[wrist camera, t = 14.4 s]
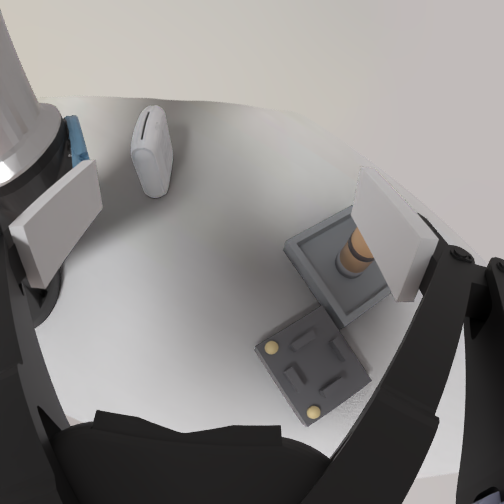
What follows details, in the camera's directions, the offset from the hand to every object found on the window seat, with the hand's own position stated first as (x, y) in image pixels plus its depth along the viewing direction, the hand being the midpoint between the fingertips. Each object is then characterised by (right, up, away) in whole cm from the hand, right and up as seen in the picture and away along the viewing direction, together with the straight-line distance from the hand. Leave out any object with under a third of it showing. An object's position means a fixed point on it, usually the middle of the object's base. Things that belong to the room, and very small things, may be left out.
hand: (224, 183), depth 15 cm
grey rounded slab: (-14, +10, +37) cm, 41 cm away
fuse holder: (+9, -18, +25) cm, 32 cm away
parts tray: (+15, -5, +31) cm, 35 cm away
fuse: (+15, -5, +30) cm, 34 cm away
